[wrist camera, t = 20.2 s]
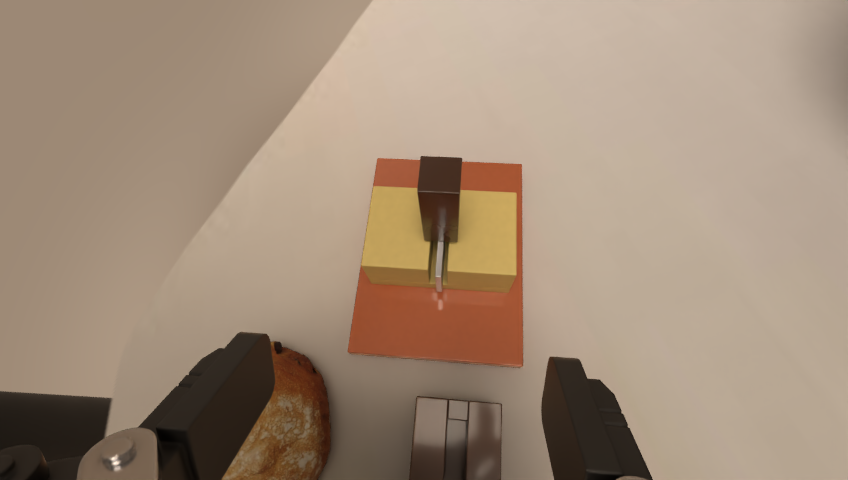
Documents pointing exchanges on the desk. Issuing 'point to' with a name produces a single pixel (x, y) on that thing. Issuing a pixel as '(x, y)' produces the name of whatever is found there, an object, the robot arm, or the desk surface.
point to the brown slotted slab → (456, 440)
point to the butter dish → (443, 294)
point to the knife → (439, 204)
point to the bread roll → (288, 425)
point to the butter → (464, 260)
